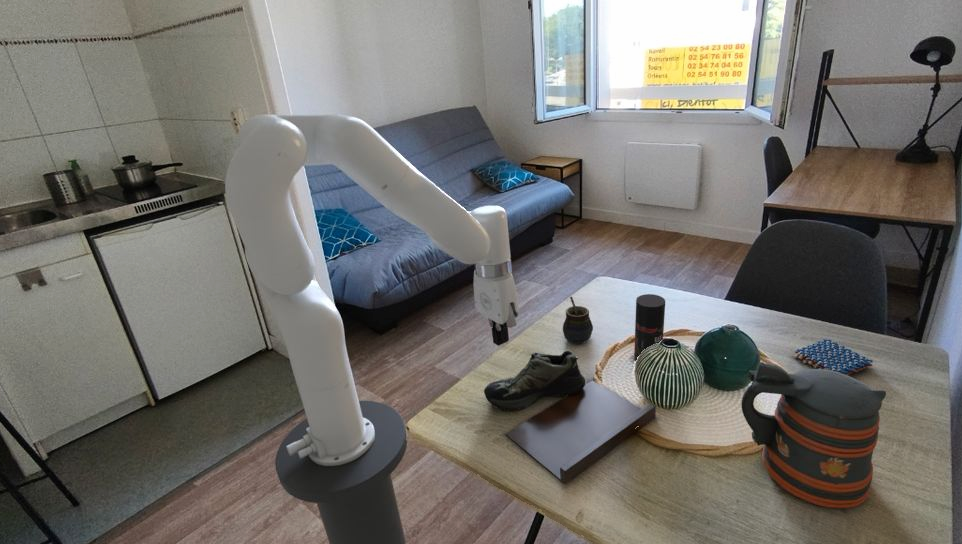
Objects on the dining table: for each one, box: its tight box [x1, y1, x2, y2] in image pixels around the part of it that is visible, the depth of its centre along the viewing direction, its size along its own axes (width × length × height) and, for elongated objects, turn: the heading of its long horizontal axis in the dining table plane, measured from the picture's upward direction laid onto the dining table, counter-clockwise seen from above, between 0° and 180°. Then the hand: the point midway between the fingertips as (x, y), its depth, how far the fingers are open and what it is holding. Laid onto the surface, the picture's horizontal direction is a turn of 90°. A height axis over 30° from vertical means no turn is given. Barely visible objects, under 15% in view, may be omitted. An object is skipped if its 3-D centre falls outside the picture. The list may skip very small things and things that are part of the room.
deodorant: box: [633, 293, 666, 362], centre depth 110 cm, size 6×6×15 cm
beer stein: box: [741, 361, 887, 510], centre depth 78 cm, size 19×15×20 cm
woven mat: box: [793, 338, 874, 376], centre depth 106 cm, size 10×11×2 cm
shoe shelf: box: [505, 380, 657, 486], centre depth 95 cm, size 24×16×3 cm, turn 127°
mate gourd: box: [562, 296, 594, 345], centre depth 122 cm, size 7×8×10 cm
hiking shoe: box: [483, 350, 586, 411], centre depth 104 cm, size 8×21×9 cm, turn 104°
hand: (501, 342), depth 111 cm, fingers closed
